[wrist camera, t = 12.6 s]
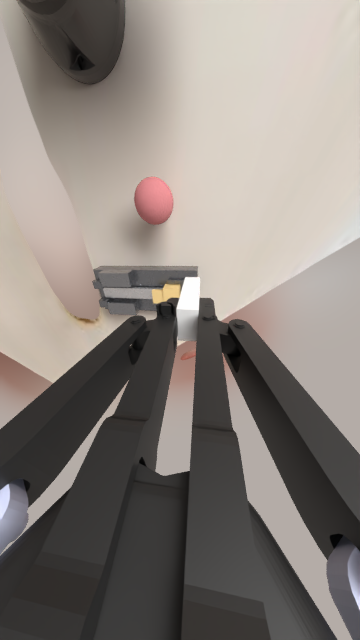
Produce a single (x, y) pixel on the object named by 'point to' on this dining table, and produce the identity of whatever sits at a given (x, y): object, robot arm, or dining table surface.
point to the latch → (166, 293)
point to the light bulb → (153, 200)
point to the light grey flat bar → (129, 292)
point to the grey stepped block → (137, 284)
